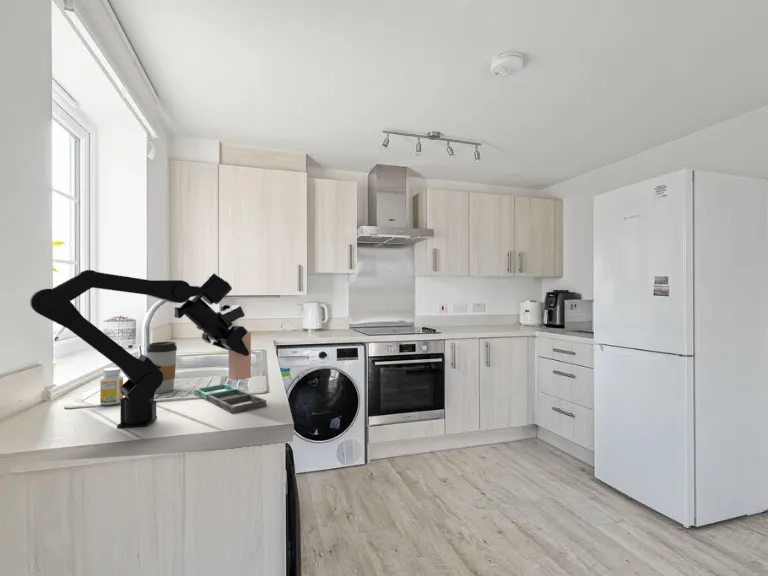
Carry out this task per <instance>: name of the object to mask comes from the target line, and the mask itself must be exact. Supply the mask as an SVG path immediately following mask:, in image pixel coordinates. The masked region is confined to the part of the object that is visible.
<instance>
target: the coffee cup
mask: <svg viewBox="0 0 768 576" xmlns="http://www.w3.org/2000/svg"><path fill="white" fill-rule="evenodd" d="M177 348H178V347H177V345H176V342H174V341H158V342H151V343H149V344H148V347H147V350H146V353H147V357H148V358H149V359H150V360H151V361H152V362H153V363H154V364H156V365H158V366H160V367H161V368H160V369H159V370H160V371H161V372H162V373H163V382H162V384H161V385H160V387H159V388H157V389H156V392H155V394H164V393H169V392H171V391H173V389H174V387H175V377H176V364H177V363H176V361H177V360H176V359H177V350H178V349H177Z"/></svg>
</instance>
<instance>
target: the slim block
mask: <svg viewBox="0 0 768 576" xmlns="http://www.w3.org/2000/svg"><path fill="white" fill-rule="evenodd" d="M247 331H248V332H247V334H246V335H245V336H244V337H243V338H242V341H243V343H244V344H245V346H246V348H247V350H248V351H249V355H248V356H245V355H242V354H239V353H237V352H234V351H231V350H228V378H229V379H232V380H234V381H238V380H246V379H251V378H252V341H251V340H252V333H251V331H249V330H247Z"/></svg>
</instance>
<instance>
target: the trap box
mask: <svg viewBox="0 0 768 576" xmlns="http://www.w3.org/2000/svg"><path fill="white" fill-rule="evenodd" d="M194 395H196V396H198V395H199V396H198V397H200V396H202V397H203V398H202V397H201V398H202V399H204V398H205V399H206V400H205V399H204V400H205V401H207V400H208V401H207V402H209V401H210V403H211V402H212V403H211V404H213V403H214V404H213V405H215V406H217V407H219V408H221V409H223V410H225V411H226V412H229V413H230V414H235V413H241V412H245V411H250V410H254V409H258V408H264V407H267V399H265V398H262V397H259V396H257V395H256V394H255V395H254V394H252V393H249V392H247V391H245V390H242V389H240V388H237V387H235V386H232V385H230V384H227V383H222V384H215V385H211V386H210V385H209V386H204V387H199V388H194ZM247 401H250V402H249V403H243V404H238V405H232V404H236V403H241V402H247Z"/></svg>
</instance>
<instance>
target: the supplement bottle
mask: <svg viewBox="0 0 768 576" xmlns="http://www.w3.org/2000/svg"><path fill="white" fill-rule="evenodd" d="M121 372H122V371H121V369H120V368H119V367H109V368H108V367H107V368H104V369H103V376H102V377H101V378H100V382H99V384H100V389H99V390H100V392H99V393H100V395H99V396H100V398H99V401H100V405H102V406H112V405H113V406H114V405H117V404H120V399H122V398H124V396H123V395H122V393H121V390H120V387H121V386H122V385H123V384H124V376H123V375H121Z"/></svg>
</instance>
